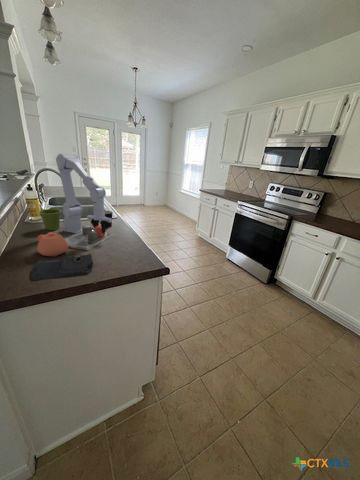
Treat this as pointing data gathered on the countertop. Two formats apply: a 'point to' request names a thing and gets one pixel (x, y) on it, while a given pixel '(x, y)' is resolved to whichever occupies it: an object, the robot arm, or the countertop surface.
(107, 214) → the coffee mug
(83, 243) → the breaker panel
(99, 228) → the red cube
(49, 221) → the plant pot
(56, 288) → the countertop surface
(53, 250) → the sugar bowl
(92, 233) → the block
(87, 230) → the breaker
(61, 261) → the dark slate chunk
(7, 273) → the countertop surface
